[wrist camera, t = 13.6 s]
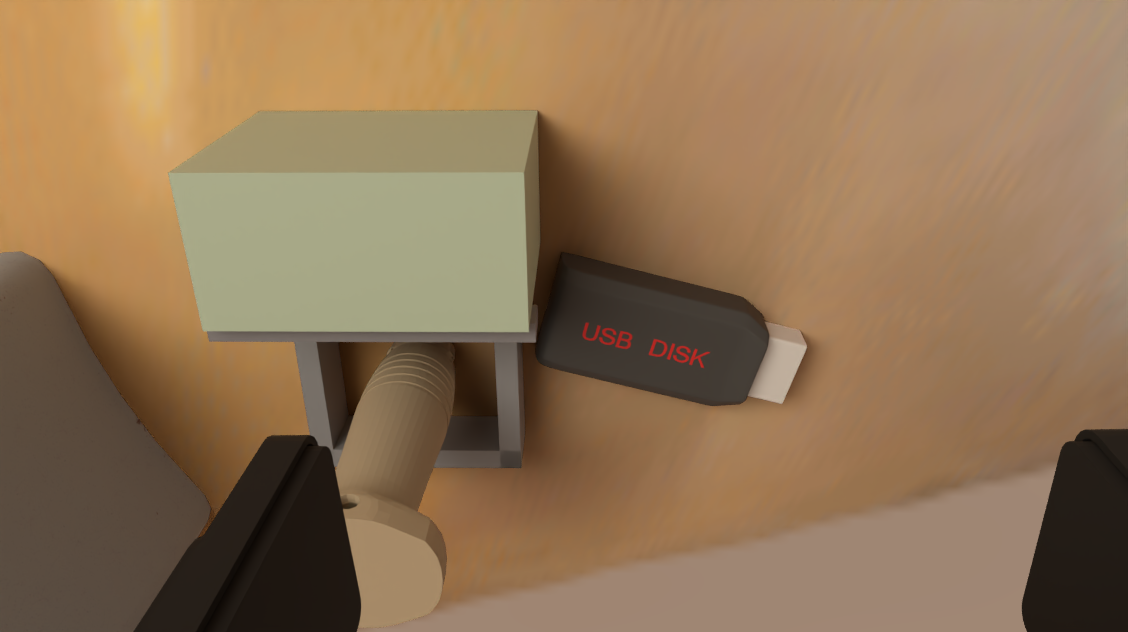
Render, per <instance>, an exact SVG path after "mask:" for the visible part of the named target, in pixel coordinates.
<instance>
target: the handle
mask: <svg viewBox="0 0 1128 632" xmlns="http://www.w3.org/2000/svg"><path fill="white" fill-rule="evenodd" d="M454 358H455V348H454V346H453V344H452V343H451V342H394V343H393V344H392V346H391V347H390V349H389V350H388V352H387V354H386V357H385V358H384V359H383V360H382V362H381V363H380V365H379V366H378V367H377V369H376V370H375V372H374V374H373V375H372V377H371V379H370V380H369V382H368V384H367V386H366V388H365V390H364V392H363V394H362V396H361V399H360V401H359V403H358V406H357V408H356V411H355V414H354V417H353V420H352V423H351V426H350V429H349V432H348V436H347V439H346V442H345V445H344V448H343V451H342V454H341V457H340V460H339V463H338V465H337V468H336V471H335V472H336V477H337V482H338V487H339V492H340V497H341V502H342V507H343V512H344V517H345V522H346V527H347V532H348V537H349V541H350V546H351V551H352V556H353V561H354V566H355V571H356V576H357V581H358V586H359V591H360V596H361V616H360V622H359V626H358V628H382V627H387V626H392V625H396V624H400V623H403V622H407V621H410V620H413V619H416V618H419V617H423V616H426V615H428V614H429V613H430V612H431V611H432V610H433V609H434V608H435V606H436V605H437V603H438V602H439V599H440V596H441V592H442V588H443V584H444V579H445V574H446V562H447V555H446V547H445V542H444V539H443V537H442V534H441V532H440V531H439V529H438V528H437V526H436V525H435V524H434V522H433V521H432V520H431V519H430V518H429V517H427V516H425V515H423V514H421V513H419V512H418V508H419V506H420V503H421V500H422V497H423V494H424V491H425V489H426V486H427V483H428V480H429V478H430V475H431V473H432V470H433V467H434V465H435V462H436V460H437V457H438V454H439V452H440V449H441V447H442V444H443V442H444V439H445V436H446V433H447V429H448V426H449V422H450V418H451V414H452V410H453V403H454V394H455V374H456V372H455V366H454V364H453V360H454Z"/></svg>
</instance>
